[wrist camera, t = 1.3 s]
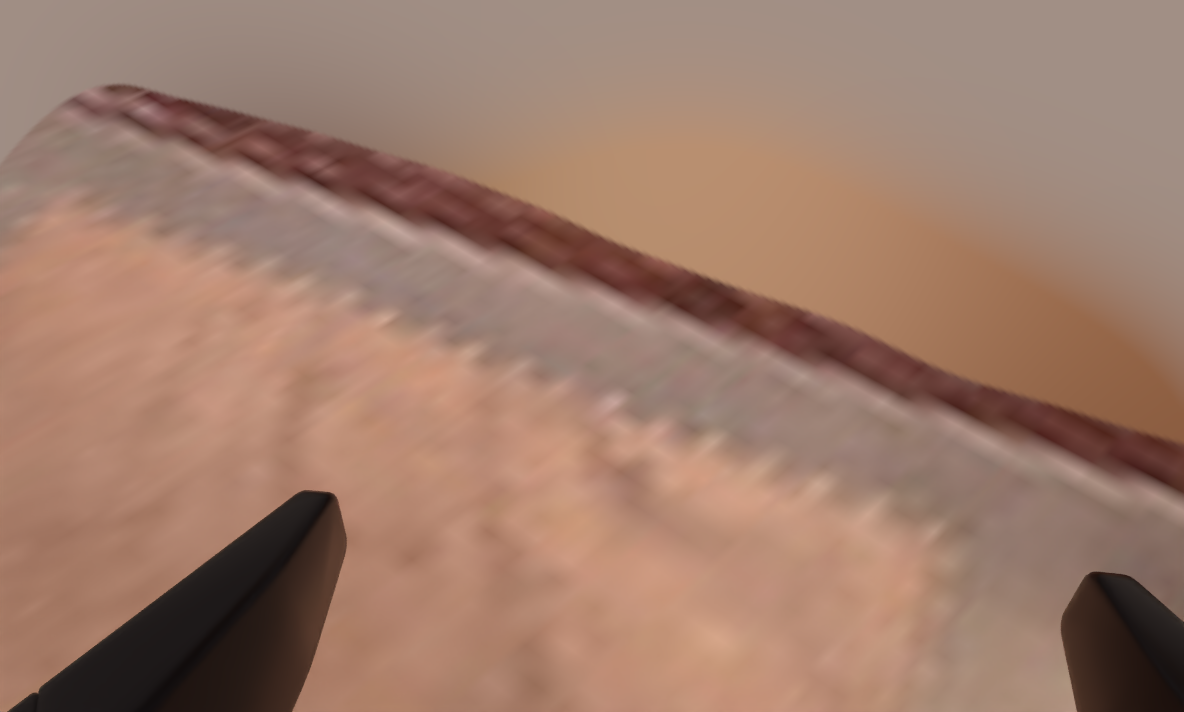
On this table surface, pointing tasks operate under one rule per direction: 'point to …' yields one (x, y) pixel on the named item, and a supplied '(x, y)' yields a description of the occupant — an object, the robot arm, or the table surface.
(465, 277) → the table surface
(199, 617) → the robot arm
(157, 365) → the table surface
